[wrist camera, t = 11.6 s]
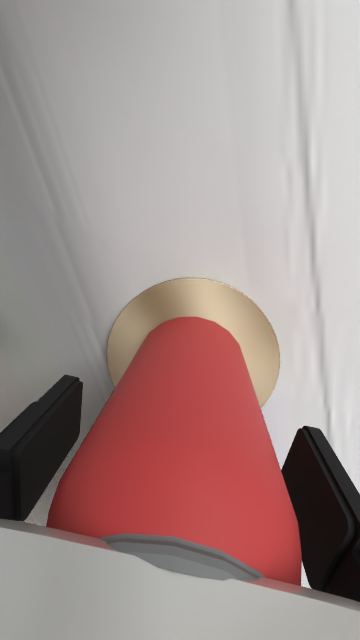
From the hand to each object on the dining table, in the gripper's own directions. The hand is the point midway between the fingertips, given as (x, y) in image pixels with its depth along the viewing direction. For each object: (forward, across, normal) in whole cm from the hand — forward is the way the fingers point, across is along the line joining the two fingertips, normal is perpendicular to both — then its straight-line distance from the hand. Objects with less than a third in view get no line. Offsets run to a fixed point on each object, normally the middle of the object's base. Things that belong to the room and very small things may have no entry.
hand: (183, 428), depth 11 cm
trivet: (+6, 0, 0) cm, 6 cm away
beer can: (+6, 0, 0) cm, 6 cm away
